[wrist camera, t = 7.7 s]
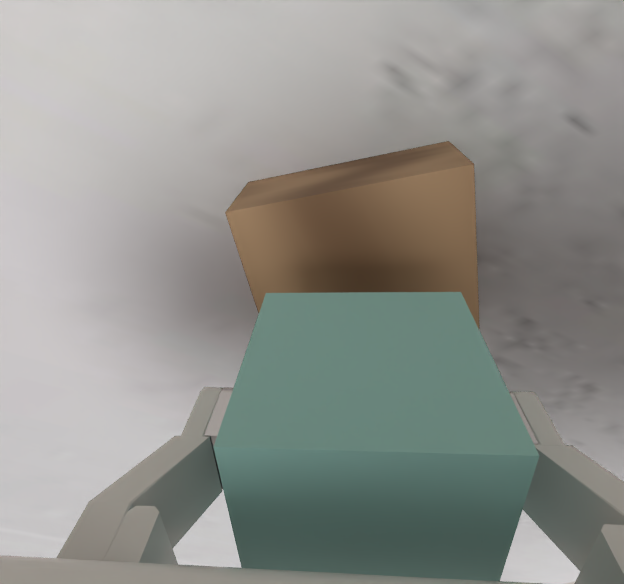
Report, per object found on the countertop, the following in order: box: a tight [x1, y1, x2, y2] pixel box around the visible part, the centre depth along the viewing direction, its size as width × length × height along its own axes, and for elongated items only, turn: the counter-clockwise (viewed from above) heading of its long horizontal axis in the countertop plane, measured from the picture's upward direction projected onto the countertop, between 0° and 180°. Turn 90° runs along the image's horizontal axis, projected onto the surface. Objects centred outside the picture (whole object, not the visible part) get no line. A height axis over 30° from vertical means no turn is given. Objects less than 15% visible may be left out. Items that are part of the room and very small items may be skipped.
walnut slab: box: [225, 141, 479, 329], centre depth 17 cm, size 8×8×4 cm
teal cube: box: [214, 292, 539, 581], centre depth 10 cm, size 5×5×5 cm
